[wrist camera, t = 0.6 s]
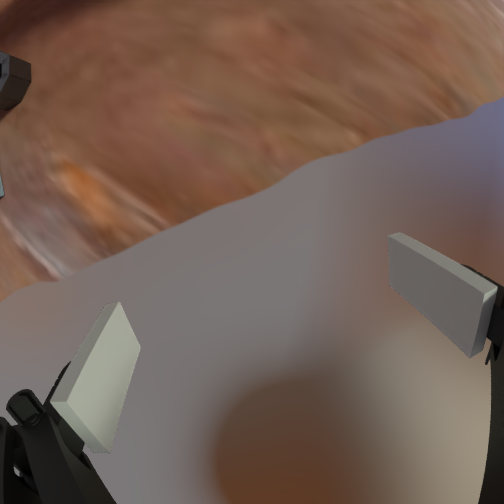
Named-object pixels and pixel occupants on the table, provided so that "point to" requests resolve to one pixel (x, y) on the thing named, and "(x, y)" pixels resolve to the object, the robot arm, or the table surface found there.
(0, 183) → the shaft block
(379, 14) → the table surface
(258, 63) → the table surface
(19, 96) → the hub
